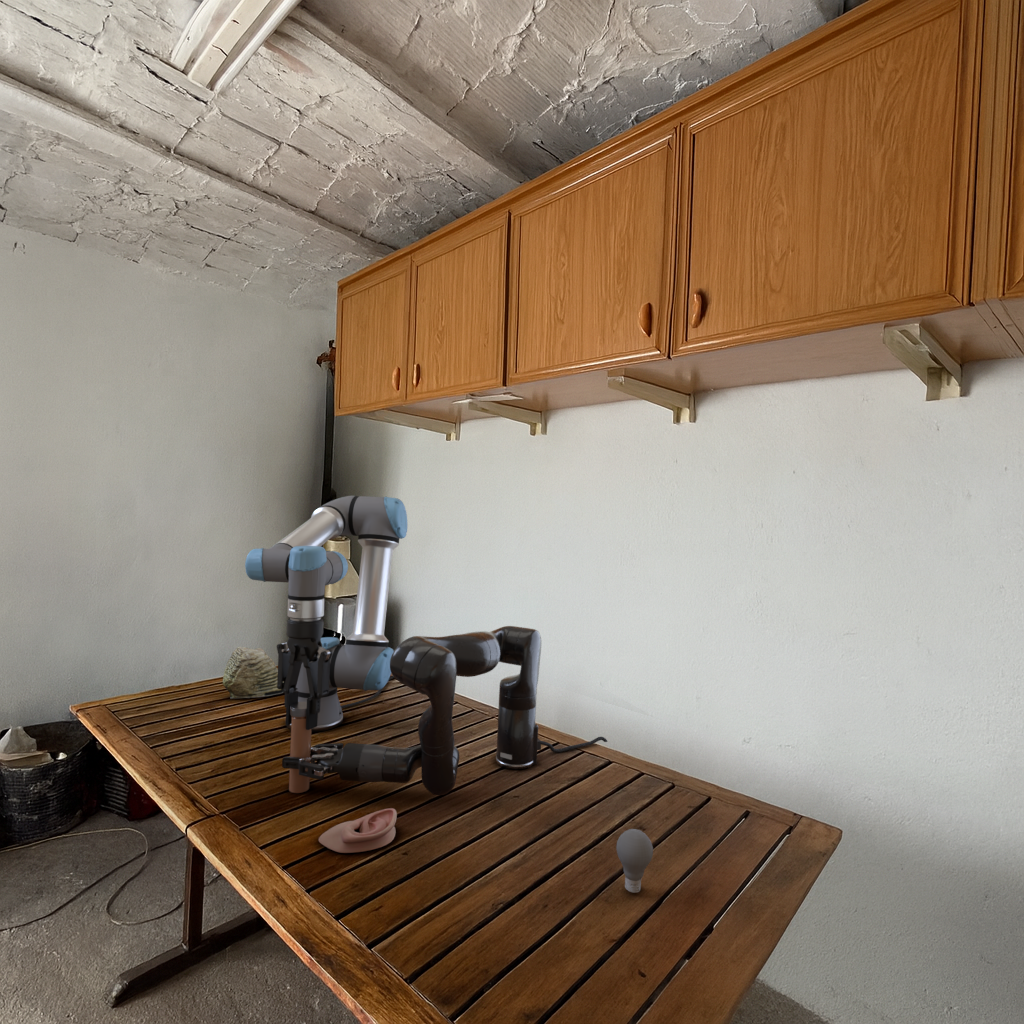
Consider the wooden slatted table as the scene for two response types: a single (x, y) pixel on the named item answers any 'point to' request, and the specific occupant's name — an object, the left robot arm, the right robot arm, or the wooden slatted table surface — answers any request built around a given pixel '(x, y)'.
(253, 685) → the fossil
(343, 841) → the anatomical model
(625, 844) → the light bulb
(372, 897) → the wooden slatted table surface
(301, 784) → the pinkish brown cylinder
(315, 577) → the left robot arm
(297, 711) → the lid
